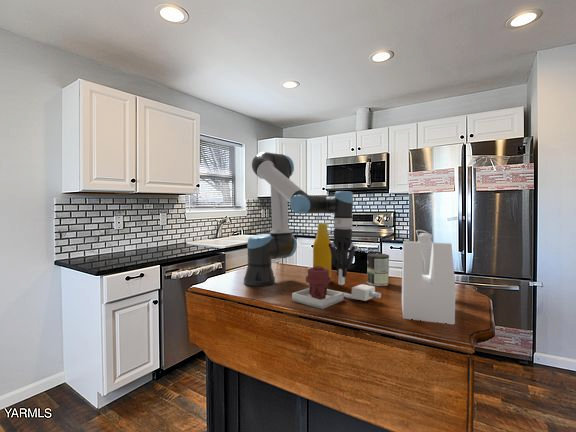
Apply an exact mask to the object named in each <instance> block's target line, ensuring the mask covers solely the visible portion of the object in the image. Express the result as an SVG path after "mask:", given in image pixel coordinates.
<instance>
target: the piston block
mask: <svg viewBox="0 0 576 432" xmlns="http://www.w3.org/2000/svg"><path fill="white" fill-rule="evenodd" d="M351 294H352V298H355V299H358V300H360V301H364V302H366V301H369V300H371V299H373V298H376V299H381V297H382V293H381V292H378V291H376V286H375V285H370V284H369V285H367V284H363V283H361V284H358V285H355V286H352V287H351Z"/></svg>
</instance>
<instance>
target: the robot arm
mask: <svg viewBox="0 0 576 432" xmlns="http://www.w3.org/2000/svg"><path fill="white" fill-rule="evenodd" d="M251 169H252V171H253V172H254V174H255V175H256V176H257V177H258V178H259V179H262V180H265V181H266V183H268V184H269V185H270V201H271V202H270V205H271V207H270V208H271V230H270V231H269V233H259V234H255V235H251V236H249V238H248V239H247V269H246V271H245V275H244V277H243V284H244V285H246V286H251V287H267V286H272V285H274V284H275V283H276V278H275V277H276V276H274V270H273V267H272V260H279V259H286V258H291V257H292V256H293V255H294V254H295V252H296V251H297V248H298V243H297V239H296V237H295V236H294V235H293V233H292V230H291V229H289V209H288V208H289V206H290V210H291V211H292V212H293V213H295V214H300V215H301V214H333V216H334V217H333V219H334V221H333V227H334V228H333V237H334V238H333V240H332V241H331V243H330V244H328V246H329V248H330V251H331V263H332V266H333V267H335V268H336V276H337V278H338V282H337V283H338V285H340V286H342V285H345V283H346V282H345V281H346V277H347V275H348V274H347V273H348V272H347V271H348V269H351V268H352V265H353V261H354V258H355V254H356V251H357V250H358V246H357V245H354V244H353V240H352V239H353V229H352V228H353V210H354V209H353V208H354V194H353V192H352V191H349V190H348V191H347V190H346V191H344V190H339V191H337V190H336V191H335V192H334V195H331V196H330V195H309V194H308V193H306V192H305V191H304V190H302V188H301V187H299V186H298V185H297V184H296V183H295V182H293V181H292V180H291V178H290V177H292V175H293V173H294V171H295V166H294V161H293V159H291V157H290V156H289V155H286V154H283V153H273V152H268V151H267V152H266V151H261V152H259V153H257V154H256V155H255V156H254V157H253V159H252V161H251ZM288 203H289V205H288ZM349 249H350V250H349Z"/></svg>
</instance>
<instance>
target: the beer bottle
mask: <svg viewBox="0 0 576 432" xmlns="http://www.w3.org/2000/svg"><path fill="white" fill-rule="evenodd" d="M328 233H329V232H328V224H327V223H318V224H317V232H316V237H315V239H314V241H313V245H312V268H313V267H315V266H321V267H323V268H325V269H328V270H329V277H330V278H331V279H332V256H331V251H330V248H329V246H328V244H330V243H332V241H331V240H330V237H329V234H328Z"/></svg>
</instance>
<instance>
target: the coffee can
mask: <svg viewBox="0 0 576 432" xmlns="http://www.w3.org/2000/svg"><path fill="white" fill-rule="evenodd" d="M366 255H367V261H366V263H367V267H366V268H367V271H366V274H367V275H366V279H367V280H366V283H367V284H369V286H374V287H383V286H384V287H386V286H388V285H389V275H390V274H389V271H390V269H389V268H390V267H389V266H390V265H389V264H390V263H389V262H390V254H386V253H377V252H375V253H374V252H373V253H367V254H366Z"/></svg>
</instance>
